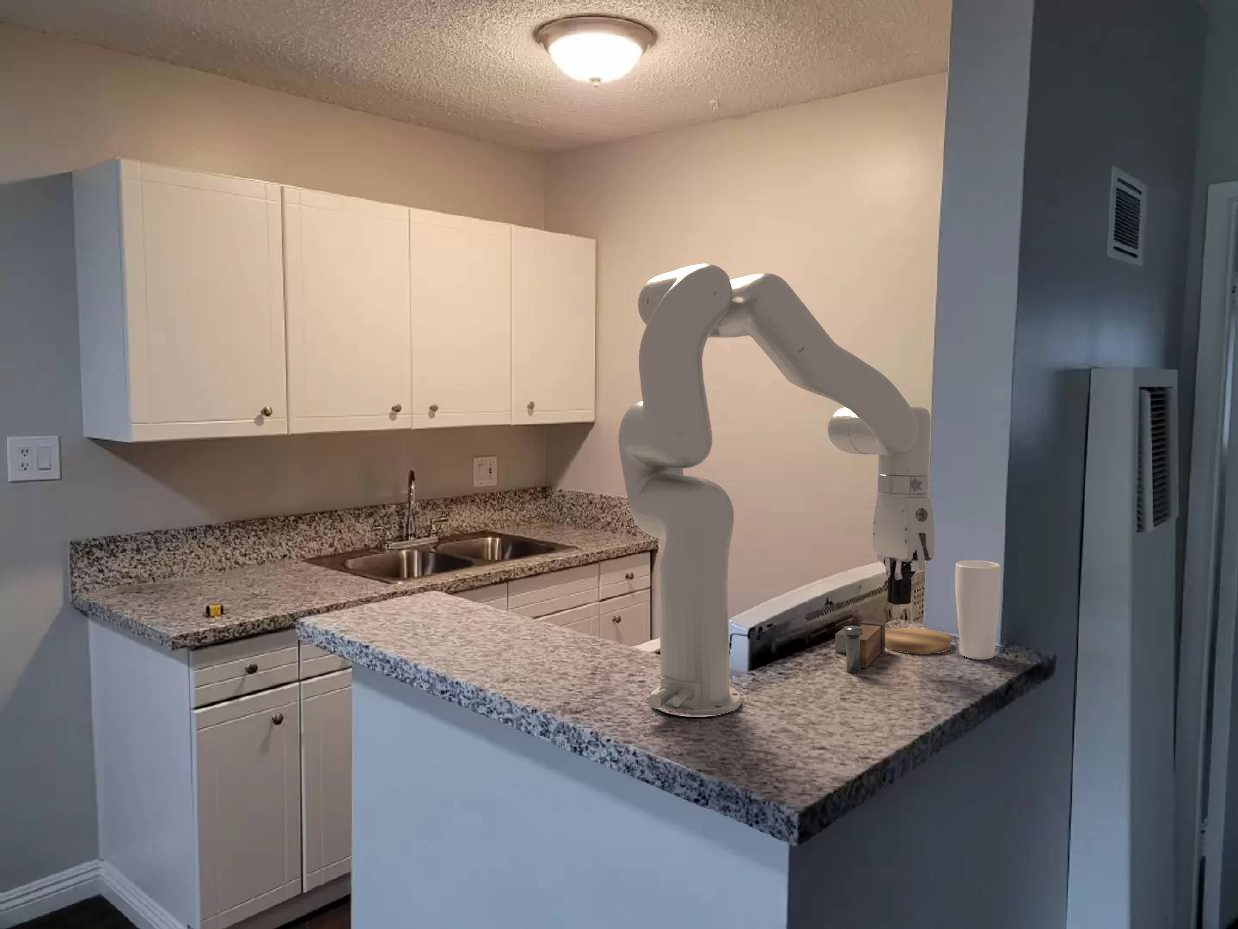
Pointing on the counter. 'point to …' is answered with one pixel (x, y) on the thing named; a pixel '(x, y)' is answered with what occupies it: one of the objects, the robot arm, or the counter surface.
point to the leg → (871, 641)
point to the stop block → (840, 641)
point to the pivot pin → (853, 648)
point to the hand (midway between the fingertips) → (899, 603)
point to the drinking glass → (977, 607)
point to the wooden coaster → (917, 640)
